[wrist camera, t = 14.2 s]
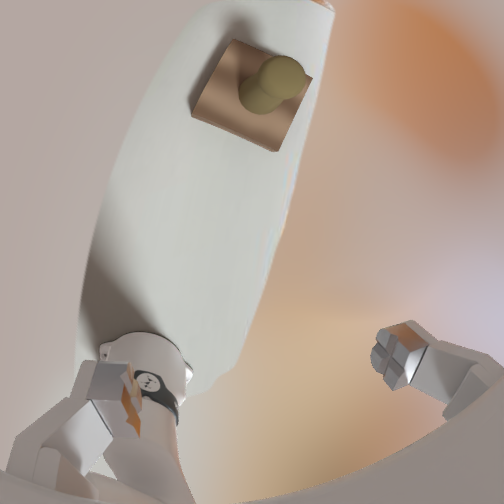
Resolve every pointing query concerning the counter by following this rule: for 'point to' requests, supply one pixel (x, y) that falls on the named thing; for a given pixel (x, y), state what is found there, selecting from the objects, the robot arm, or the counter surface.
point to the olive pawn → (272, 85)
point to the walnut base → (230, 108)
